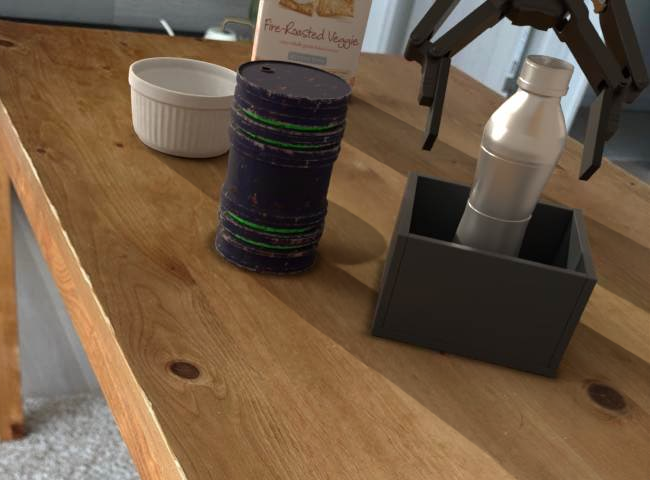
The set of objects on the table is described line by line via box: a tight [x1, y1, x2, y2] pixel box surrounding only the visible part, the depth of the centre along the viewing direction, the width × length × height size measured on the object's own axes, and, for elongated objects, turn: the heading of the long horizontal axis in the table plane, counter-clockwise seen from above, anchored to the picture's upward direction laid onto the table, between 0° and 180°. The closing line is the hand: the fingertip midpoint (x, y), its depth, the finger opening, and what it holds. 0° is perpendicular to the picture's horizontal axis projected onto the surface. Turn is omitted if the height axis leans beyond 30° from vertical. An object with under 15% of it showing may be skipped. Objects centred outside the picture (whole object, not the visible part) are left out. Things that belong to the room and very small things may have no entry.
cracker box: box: [250, 0, 373, 94], centre depth 114 cm, size 14×6×21 cm, turn 92°
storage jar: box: [214, 60, 353, 276], centre depth 77 cm, size 10×10×15 cm
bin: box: [370, 170, 598, 378], centre depth 75 cm, size 16×15×9 cm
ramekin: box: [128, 56, 237, 159], centre depth 97 cm, size 13×13×7 cm
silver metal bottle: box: [452, 54, 575, 258], centre depth 71 cm, size 6×7×20 cm
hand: (509, 158), depth 73 cm, fingers open, 13 cm apart
